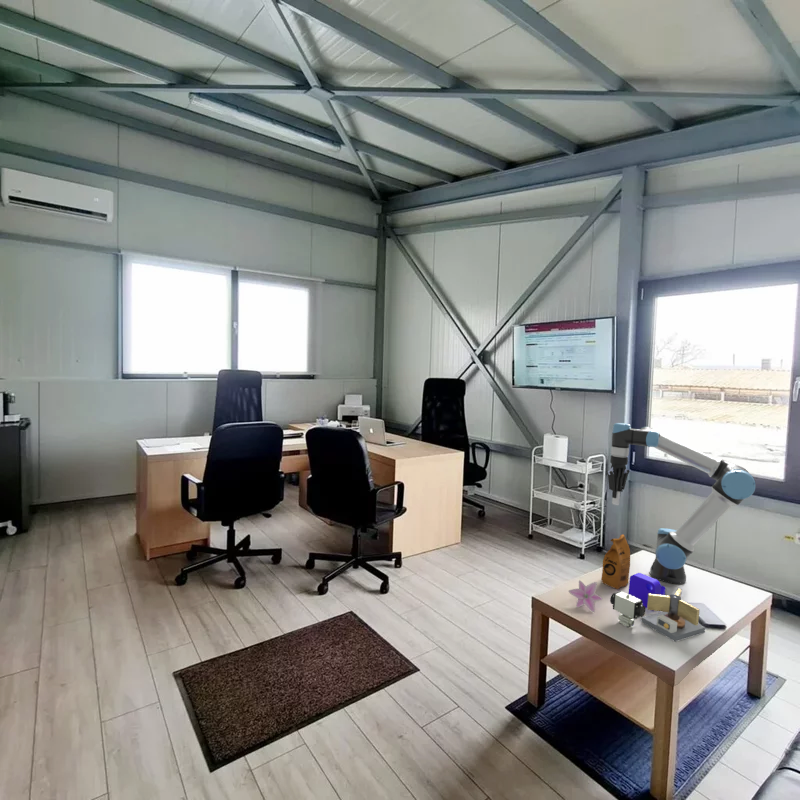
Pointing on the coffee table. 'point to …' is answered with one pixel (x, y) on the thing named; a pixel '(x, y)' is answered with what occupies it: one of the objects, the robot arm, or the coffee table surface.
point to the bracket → (644, 587)
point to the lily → (586, 595)
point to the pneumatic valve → (627, 607)
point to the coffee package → (617, 564)
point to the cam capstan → (674, 608)
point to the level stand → (671, 626)
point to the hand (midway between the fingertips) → (615, 504)
